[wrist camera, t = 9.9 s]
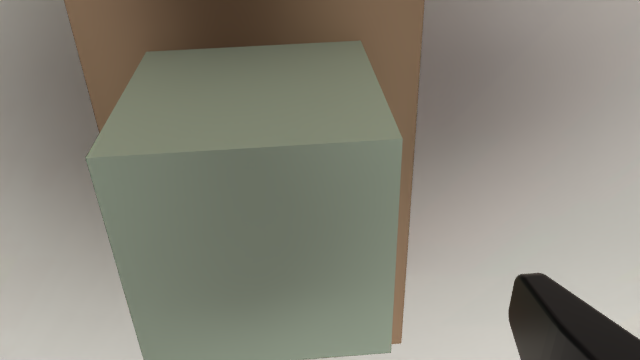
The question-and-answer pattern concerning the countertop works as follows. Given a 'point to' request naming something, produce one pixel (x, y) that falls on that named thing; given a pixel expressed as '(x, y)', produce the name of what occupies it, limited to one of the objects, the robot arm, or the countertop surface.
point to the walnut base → (260, 30)
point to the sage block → (253, 202)
